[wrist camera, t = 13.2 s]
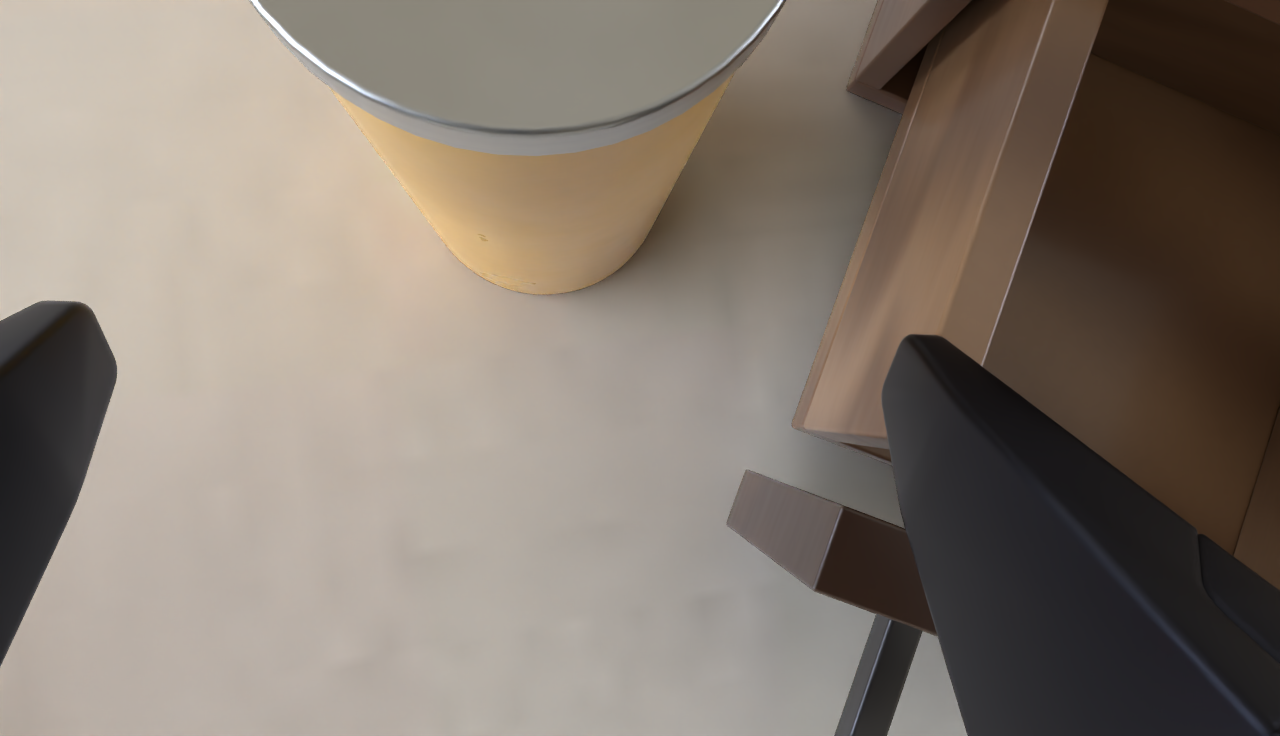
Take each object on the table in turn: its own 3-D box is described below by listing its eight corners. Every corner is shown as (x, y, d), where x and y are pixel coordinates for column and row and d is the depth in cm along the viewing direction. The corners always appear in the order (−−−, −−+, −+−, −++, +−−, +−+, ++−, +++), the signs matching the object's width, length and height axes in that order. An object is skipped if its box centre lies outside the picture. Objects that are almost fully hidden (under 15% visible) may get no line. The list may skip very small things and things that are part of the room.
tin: (552, 351, 17) (540, 271, 6) (363, 181, 16) (26, -194, 6) (715, 171, 17) (955, -178, 7) (534, 5, 17) (495, -625, 7)
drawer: (1143, 890, 17) (1435, 1136, 11) (654, 720, 16) (704, 895, 10) (1368, 170, 18) (1733, 67, 12) (923, -25, 17) (1100, -230, 11)
